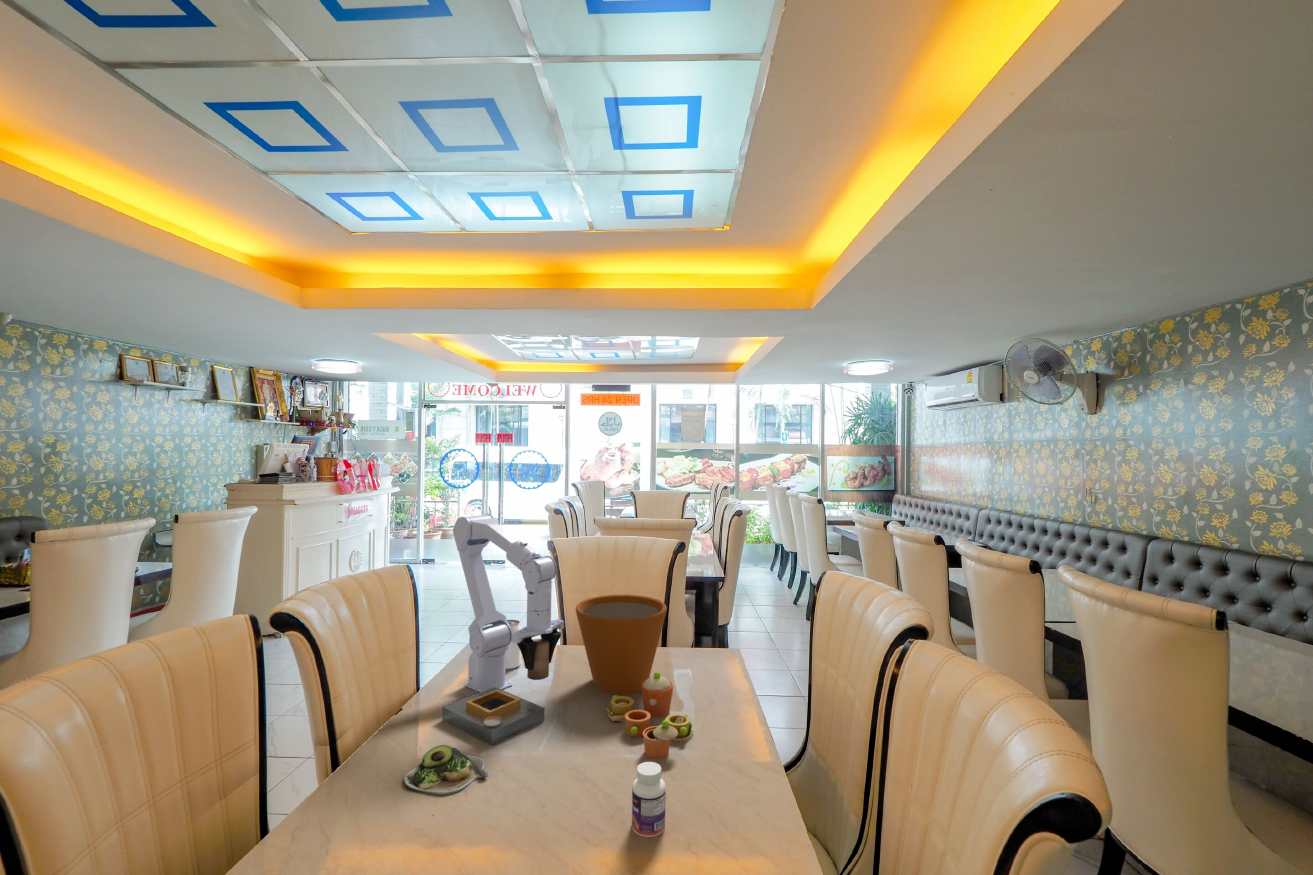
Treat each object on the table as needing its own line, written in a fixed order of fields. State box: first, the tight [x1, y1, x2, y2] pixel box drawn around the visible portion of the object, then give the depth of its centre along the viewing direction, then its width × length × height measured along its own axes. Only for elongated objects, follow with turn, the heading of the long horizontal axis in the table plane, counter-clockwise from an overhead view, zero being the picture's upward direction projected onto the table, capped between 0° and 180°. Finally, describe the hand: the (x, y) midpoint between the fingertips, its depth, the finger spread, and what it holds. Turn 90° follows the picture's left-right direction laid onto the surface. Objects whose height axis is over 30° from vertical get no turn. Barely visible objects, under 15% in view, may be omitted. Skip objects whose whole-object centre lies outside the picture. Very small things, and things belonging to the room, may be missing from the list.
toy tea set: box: [605, 671, 694, 759], centre depth 126 cm, size 26×16×10 cm, turn 25°
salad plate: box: [402, 744, 489, 796], centre depth 108 cm, size 15×14×4 cm
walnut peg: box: [526, 638, 550, 681], centre depth 138 cm, size 5×5×8 cm
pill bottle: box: [631, 761, 666, 838], centre depth 93 cm, size 5×5×10 cm
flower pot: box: [575, 594, 668, 695], centre depth 152 cm, size 24×24×20 cm
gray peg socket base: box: [441, 687, 545, 747], centre depth 129 cm, size 18×14×4 cm
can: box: [505, 619, 522, 670], centre depth 162 cm, size 6×6×12 cm
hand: (538, 665), depth 138 cm, fingers closed on walnut peg, 5 cm apart
